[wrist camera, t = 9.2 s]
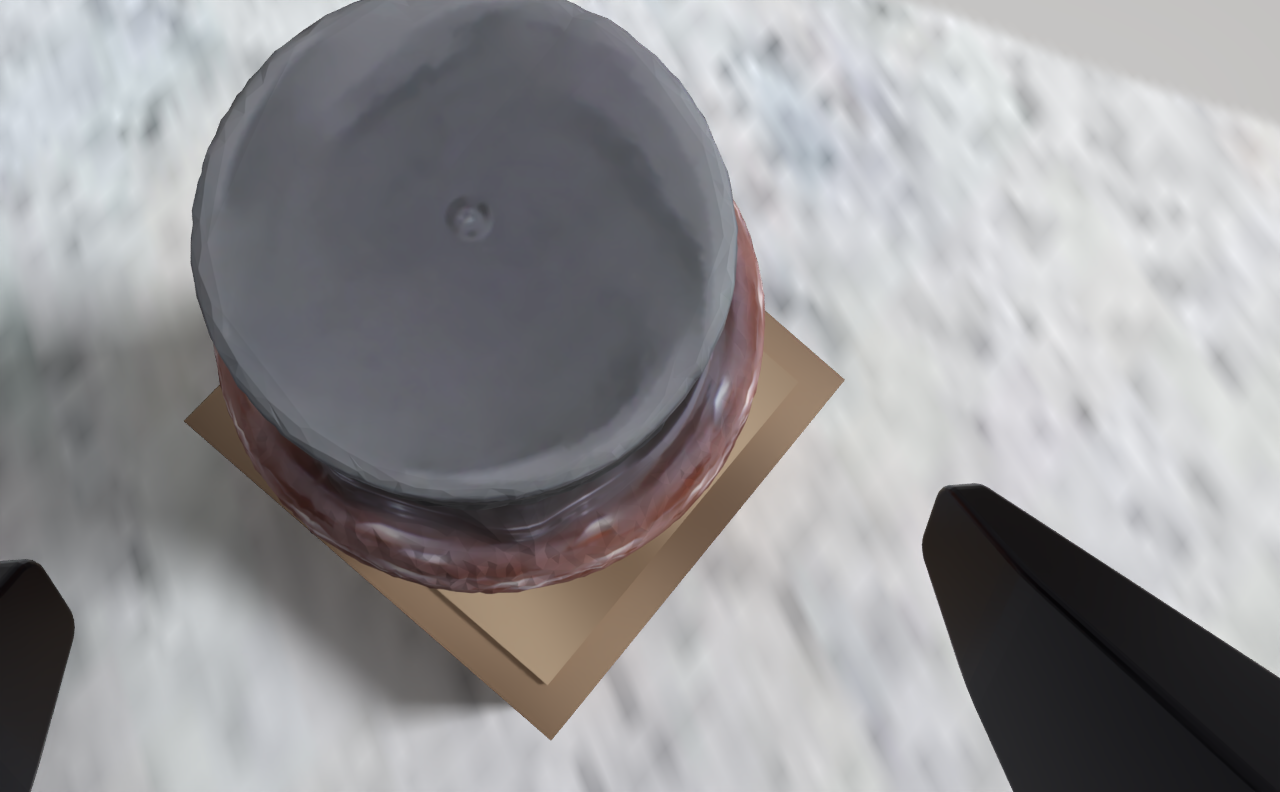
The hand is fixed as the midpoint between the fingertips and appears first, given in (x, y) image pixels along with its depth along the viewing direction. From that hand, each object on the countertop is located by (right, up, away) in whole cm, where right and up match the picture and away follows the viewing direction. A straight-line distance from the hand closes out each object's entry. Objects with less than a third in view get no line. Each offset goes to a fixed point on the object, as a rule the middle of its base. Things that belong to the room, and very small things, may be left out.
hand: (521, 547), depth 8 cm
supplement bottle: (-1, +1, +9) cm, 9 cm away
